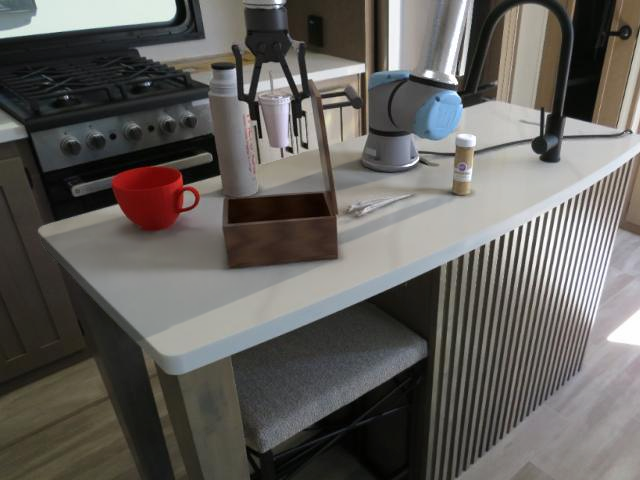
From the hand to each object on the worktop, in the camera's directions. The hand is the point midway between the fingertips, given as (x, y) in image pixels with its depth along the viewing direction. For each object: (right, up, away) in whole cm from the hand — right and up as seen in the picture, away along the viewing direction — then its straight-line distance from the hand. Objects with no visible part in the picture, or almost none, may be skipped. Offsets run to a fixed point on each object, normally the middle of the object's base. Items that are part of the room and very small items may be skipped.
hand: (278, 135), depth 112 cm
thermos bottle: (-13, -7, +20) cm, 25 cm away
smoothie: (0, -2, +1) cm, 2 cm away
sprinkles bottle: (+39, -7, +22) cm, 45 cm away
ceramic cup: (-24, -18, +3) cm, 30 cm away
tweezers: (+20, -12, +15) cm, 28 cm away
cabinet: (+2, -23, -4) cm, 23 cm away
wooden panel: (+10, -6, -12) cm, 17 cm away
